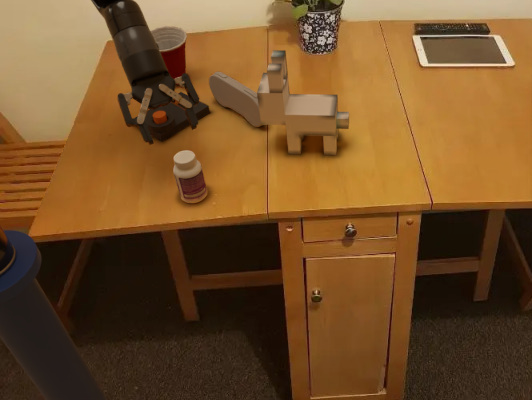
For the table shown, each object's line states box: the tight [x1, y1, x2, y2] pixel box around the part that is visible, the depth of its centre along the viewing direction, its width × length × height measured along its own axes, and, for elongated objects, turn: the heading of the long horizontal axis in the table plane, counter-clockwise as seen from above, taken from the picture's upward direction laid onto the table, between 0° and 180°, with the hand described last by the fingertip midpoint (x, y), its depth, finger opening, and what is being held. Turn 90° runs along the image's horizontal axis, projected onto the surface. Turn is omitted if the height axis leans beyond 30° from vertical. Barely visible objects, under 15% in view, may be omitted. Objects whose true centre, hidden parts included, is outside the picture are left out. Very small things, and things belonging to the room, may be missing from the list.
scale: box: [134, 91, 211, 142], centre depth 132 cm, size 14×10×4 cm
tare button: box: [153, 111, 167, 124], centre depth 127 cm, size 3×3×2 cm
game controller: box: [208, 71, 263, 128], centre depth 131 cm, size 20×2×8 cm, turn 44°
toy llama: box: [256, 49, 350, 156], centre depth 118 cm, size 8×18×20 cm, turn 85°
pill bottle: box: [172, 149, 208, 204], centre depth 111 cm, size 5×5×10 cm
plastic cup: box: [150, 25, 188, 79], centre depth 142 cm, size 11×11×12 cm
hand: (173, 136), depth 110 cm, fingers open, 8 cm apart
